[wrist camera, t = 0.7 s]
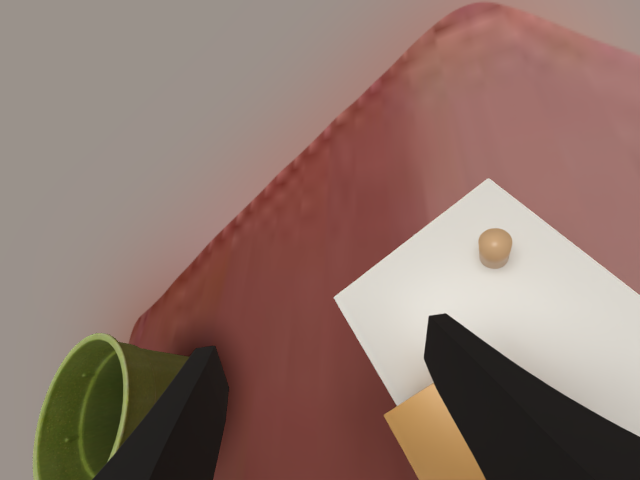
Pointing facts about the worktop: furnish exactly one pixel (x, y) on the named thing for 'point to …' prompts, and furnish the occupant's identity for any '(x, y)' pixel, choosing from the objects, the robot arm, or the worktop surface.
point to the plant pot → (97, 405)
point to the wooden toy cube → (432, 438)
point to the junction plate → (503, 305)
